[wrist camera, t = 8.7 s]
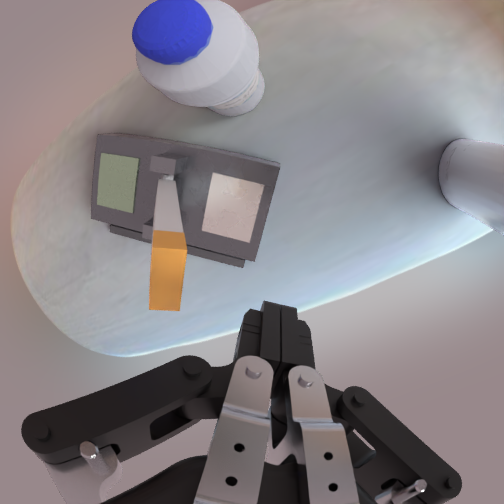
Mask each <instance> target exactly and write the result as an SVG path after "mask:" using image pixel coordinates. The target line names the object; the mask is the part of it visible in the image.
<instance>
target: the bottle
mask: <svg viewBox="0 0 504 504" xmlns="http://www.w3.org/2000/svg"><path fill="white" fill-rule="evenodd" d="M132 39H133V42H134V44H135V47H136V61H137V65H138V68H139V71H140V73H141V74H142V76H143V77H144V78H145V80H146V81H147V82H149V83H150V84H151V85H152V86H154V87H155V88H157V89H158V90H160V91H161V92H162V93H163V94H164V95H165V96H167V97H168V98H170V99H171V100H173V101H175V102H177V103H180V104H184V105H190V106H196V107H208V108H209V109H211V110H212V111H214V112H216V113H219V114H221V115H226V116H237V115H242V114H244V113H247V112H249V111H251V110H253V109H254V108H255V107H256V106H257V105H258V103H259V102H260V100H261V98H262V96H263V94H264V90H265V84H264V78H263V75H262V73H261V71H260V69H259V68H258V64H259V47H258V42H257V39H256V36H255V34H254V33H253V31H252V30H251V28H250V27H249V26H248V25H247V24H246V23H245V21H244V20H243V19H242V17H241V16H240V15H239V14H238V12H237V11H236V10H234V8H232V7H231V6H229V5H228V4H226V3H224V2H221V1H219V0H157V1H156V2H153V3H152V4H150V5H149V6H148V7H146V8H145V9H144V10H143V11H142V12H141V14H140V15H139V16H138V18H137V20H136V22H135V24H134V27H133V31H132Z"/></svg>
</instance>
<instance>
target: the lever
mask: <svg viewBox="0 0 504 504" xmlns="http://www.w3.org/2000/svg"><path fill="white" fill-rule="evenodd" d="M173 178H174V176H173V175H169V174H163V173H162V174H161V179H159V180H158V187H157V194H156V202H155V210H154V220H153V233H152V247H151V266H150V287H149V310H168V311H180V303H181V294H182V286H183V278H184V270H185V263H186V256H187V246H186V240H185V235H184V232H183V226H182V220H181V214H180V208H179V201H178V195H177V188H176V181H173Z"/></svg>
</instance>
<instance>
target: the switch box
mask: <svg viewBox="0 0 504 504" xmlns="http://www.w3.org/2000/svg"><path fill="white" fill-rule="evenodd" d="M279 170H280V163H276V162H272V161H268V160H264V159H260V158H256V157H252V156H248V155H244V154H239V153H235V152H230V151H226V150H221V149H216V148H211V147H206V146H201V145H196V144H190V143H185V142H179V141H173V140H166V139H160V138H153V137H146V136H138V135H130V134H121V133H109V134H98V136H97V144H96V152H95V161H94V171H93V184H92V204H91V219H95V220H98V221H102V222H106V223H109V224H113V225H117V226H121V227H124V228H128V229H132V230H135V231H139V232H143V233H142V238H145V239H149V240H152V233H153V220H154V210H155V202H156V194H157V187H158V180H159V179H161V174H162V173H163V174H169V175H173V176H174V178H173V181H176V188H177V195H178V201H179V208H180V214H181V220H182V226H183V232H184V235H185V240H186V244H188V245H192V246H196V247H200V248H203V249H207V250H211V251H215V252H219V253H223V254H226V255H230V256H234V257H238V258H242V259H246V260H250V261H254V262H255V258H256V255H257V251H258V247H259V244H260V240H261V236H262V233H263V229H264V225H265V222H266V218H267V214H268V211H269V207H270V203H271V199H272V196H273V192H274V188H275V185H276V181H277V177H278V173H279Z"/></svg>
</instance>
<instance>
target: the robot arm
mask: <svg viewBox="0 0 504 504" xmlns="http://www.w3.org/2000/svg"><path fill="white" fill-rule="evenodd" d="M439 183H440V187H441V190H442V193H443V195H444V197H445V198H446V200H447V201H448V202H449V203H450V204H451V205H452V206H454V207H456V208H458V209H459V210H461V211H463V212H465V213H467V214H468V215H470V216H472V217H473V218H475V219H477V220H479V221H480V222H482V223H484V224H485V225H487V226H489V227H490V228H492V229H494V230H495V231H497V232H499V233H500V234H502V235H503V236H504V145H500V144H495V143H489V142H483V141H476V140H469V139H458V140H455V141H453V142H452V143H450V144H449V145H448V146H447V147H446V149H445V151H444V152H443V154H442V157H441V160H440V165H439ZM270 399H271V406H270V408H269V401H270ZM268 408H269V410H268ZM201 419H218V420H217V424H216V427H215V430H214V433H213V437H212V440H211V443H210V446H209V449H208V453H207V455H203V456H195V457H190V458H187V459H184V460H181V461H179V462H177V463H175V464H173V465H171V466H170V467H168V468H167V469H165V470H163V471H162V472H160V473H158V474H157V475H155V476H153V477H151V478H149V479H148V480H146V481H144V482H142V483H140V484H139V485H137V486H135V487H133V488H131V489H129V490H127V491H125V492H123V493H121V494H119V495H117V496H115V497H113V498H111V499H109V500H107V494H108V491H109V490H110V488H111V487H113V486H114V485H115V484H117V483H118V482H119V481H120V480H121V478H122V474H123V469H122V466H121V462H123V461H125V460H127V459H129V458H132V457H134V456H136V455H138V454H140V453H142V452H144V451H146V450H148V449H150V448H152V447H154V446H156V445H158V444H160V443H162V442H164V441H166V440H167V439H169V438H171V437H173V436H175V435H176V434H178V433H180V432H182V431H184V430H185V429H187V428H189V427H191V426H192V425H194V424H196V423H197V422H199V421H200V420H201ZM354 429H355V430H356V431H357V432H358V433H359V434H360V435H361V436H362V437H363V438H364V439H365V440H366V441H367V442H368V443H369V444H370V445H372V446H373V447H374V449H375V450H372V449H370V448H369V447H368V446H367V445H366V444H365V443H364V442H363V441H362V440H361V439H360V438H359V437H358V436H357V435H356V434H355V433H354V432H353V430H354ZM21 430H22V431H21V432H22V437H23V439H24V441H25V443H26V444H27V446H28V447H29V448H30V449H31V450H32V451H33V452H34V453H35V454H36V455H37V457H38V458H39V459H41V460H42V461H43V463H44V464H45V466H46V468H47V470H48V472H49V474H50V476H51V478H52V479H53V481H54V483H55V485H56V487H57V489H58V490H59V492H60V494H61V496H62V497H63V499H64V501H65V502H66V504H443V503H445V502H447V501H449V500H450V499H452V498H454V497H456V496H457V495H458V494H459V493H460V491H461V487H462V480H461V477H460V475H459V474H458V473H457V472H456V471H455V470H454V469H453V468H452V467H451V466H449V465H448V464H447V463H446V462H445V461H444V460H443V459H441V458H440V457H439V456H438V455H437V454H436V453H435V452H434V451H432V450H431V449H430V448H429V447H428V446H427V445H425V444H424V442H422V441H421V440H420V439H419V438H418V437H417V436H416V435H415V434H414V433H412V432H411V431H410V430H409V429H408V428H407V427H406V426H405V425H404V424H403V423H401V422H400V421H399V420H398V419H397V418H396V417H395V416H394V415H393V414H392V413H391V412H390V411H389V410H387V409H386V408H385V407H384V406H383V405H382V404H381V403H380V402H379V401H378V400H377V399H376V398H374V397H373V396H372V395H371V394H370V393H369V392H368V391H367V390H365V389H363V388H361V387H357V386H352V387H348V388H347V389H346V390H345V391H344V392H342V391H340V390H337V389H334V388H332V387H330V386H327V385H326V384H325V383H324V380H323V378H322V376H321V374H320V373H319V372H318V371H316V370H315V362H314V354H313V346H312V340H311V331H310V328H309V327H308V325H307V324H306V322H305V321H302V320H298V317H297V309H296V308H294V307H289V306H285V305H280V304H276V303H272V302H268V301H263V304H262V307H261V310H260V311H258V310H253V309H250V310H249V311H248V312H247V313H246V314H245V315H244V318H243V321H242V325H241V328H240V332H239V335H238V338H237V344H236V349H235V355H234V359H233V362H232V363H231V364H229V365H226V366H222V367H211V366H210V365H209V363H208V362H206V361H205V360H204V359H202V358H200V357H197V356H190V355H189V356H182V357H179V358H177V359H175V360H173V361H170V362H168V363H166V364H164V365H162V366H160V367H157V368H154V369H152V370H150V371H147V372H145V373H143V374H140V375H138V376H135V377H133V378H130V379H128V380H126V381H123V382H120V383H118V384H115V385H113V386H110V387H108V388H105V389H103V390H100V391H97V392H94V393H92V394H89V395H87V396H84V397H80V398H78V399H75V400H72V401H69V402H66V403H63V404H60V405H57V406H55V407H51V408H48V409H45V410H41V411H38V412H35V413H32V414H30V415H29V416H27V417H26V419H25V420H24V421H23V424H22V429H21ZM267 442H268V455H267V458H266V462H265V455H266V449H267Z"/></svg>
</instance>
